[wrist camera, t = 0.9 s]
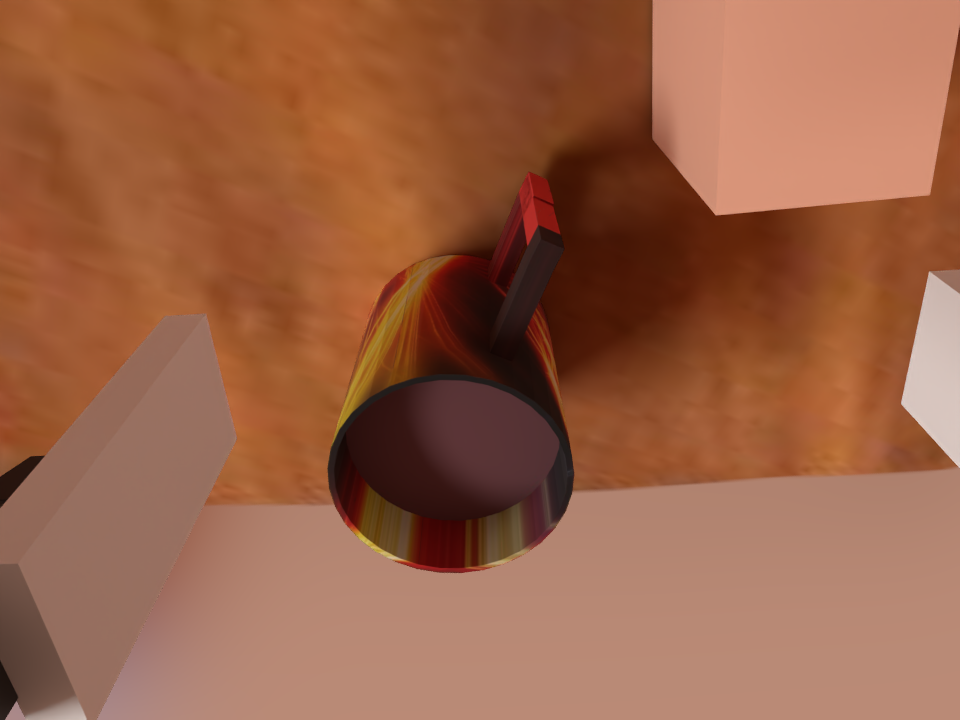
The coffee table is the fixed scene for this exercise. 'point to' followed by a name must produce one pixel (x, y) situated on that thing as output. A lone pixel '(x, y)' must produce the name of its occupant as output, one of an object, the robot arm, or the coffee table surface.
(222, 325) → the coffee table surface
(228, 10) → the coffee table surface
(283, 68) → the coffee table surface
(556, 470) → the mug
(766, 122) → the stub
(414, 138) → the coffee table surface
